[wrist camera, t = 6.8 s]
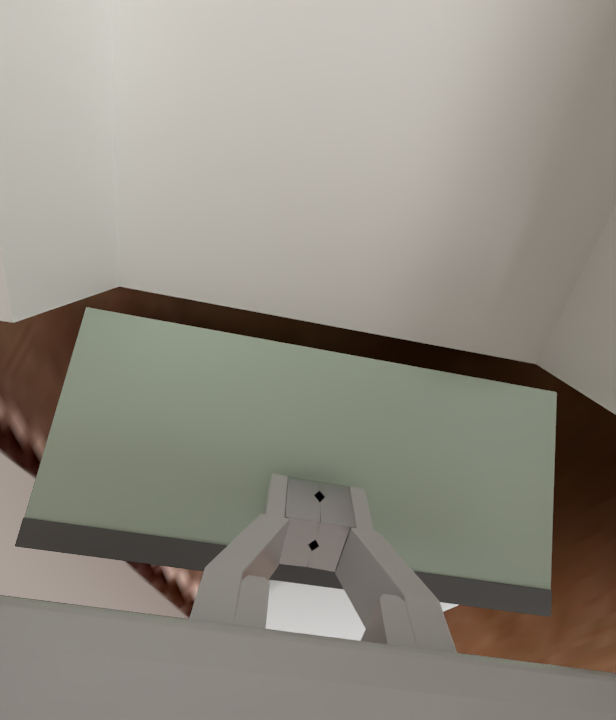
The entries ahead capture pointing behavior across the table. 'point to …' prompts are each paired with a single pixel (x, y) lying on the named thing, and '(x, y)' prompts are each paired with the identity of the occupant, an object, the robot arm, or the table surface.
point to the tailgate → (294, 457)
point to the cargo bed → (322, 166)
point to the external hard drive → (315, 611)
